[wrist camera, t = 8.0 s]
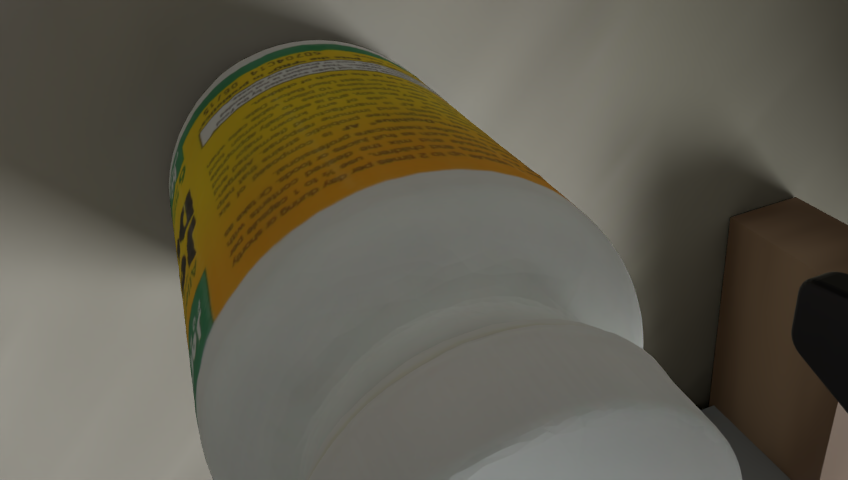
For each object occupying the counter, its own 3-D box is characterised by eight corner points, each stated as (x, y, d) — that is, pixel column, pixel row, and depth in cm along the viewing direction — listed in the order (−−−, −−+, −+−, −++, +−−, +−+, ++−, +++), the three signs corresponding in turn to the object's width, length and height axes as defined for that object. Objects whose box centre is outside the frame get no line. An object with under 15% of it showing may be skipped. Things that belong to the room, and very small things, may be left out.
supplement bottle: (471, 227, 16) (812, 612, 8) (240, 333, 15) (367, 873, 7) (397, -16, 13) (821, 218, 5) (106, 101, 12) (83, 585, 4)
